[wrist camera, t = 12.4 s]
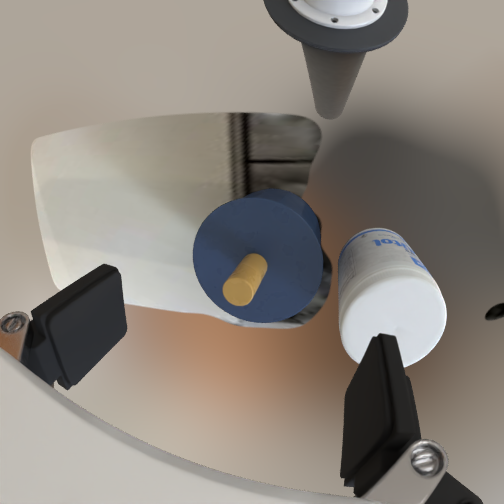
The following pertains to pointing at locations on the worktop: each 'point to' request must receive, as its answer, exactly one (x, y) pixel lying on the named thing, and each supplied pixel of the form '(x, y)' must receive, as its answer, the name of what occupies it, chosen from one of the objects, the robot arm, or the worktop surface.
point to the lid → (258, 259)
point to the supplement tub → (387, 296)
